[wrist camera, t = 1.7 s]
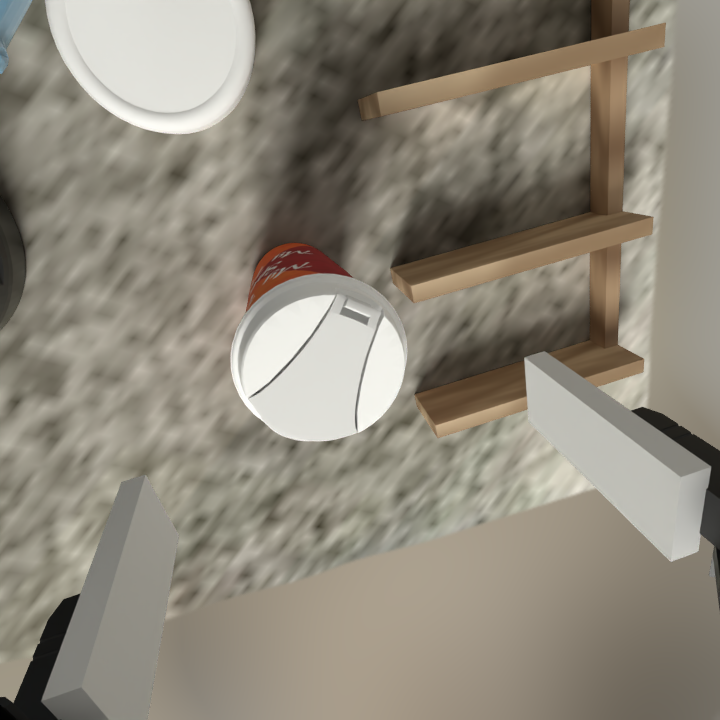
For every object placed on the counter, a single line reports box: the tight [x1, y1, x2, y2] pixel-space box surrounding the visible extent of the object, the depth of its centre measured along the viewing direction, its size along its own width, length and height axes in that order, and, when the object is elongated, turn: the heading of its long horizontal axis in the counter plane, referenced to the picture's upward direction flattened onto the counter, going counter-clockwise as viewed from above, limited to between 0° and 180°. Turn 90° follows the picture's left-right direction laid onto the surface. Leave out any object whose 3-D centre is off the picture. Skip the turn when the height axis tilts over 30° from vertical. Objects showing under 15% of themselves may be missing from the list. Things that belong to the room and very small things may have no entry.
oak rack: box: [358, 0, 666, 438], centre depth 32 cm, size 35×18×5 cm, turn 12°
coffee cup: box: [231, 243, 407, 441], centre depth 27 cm, size 8×8×15 cm
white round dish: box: [45, 0, 255, 134], centre depth 25 cm, size 10×10×4 cm
